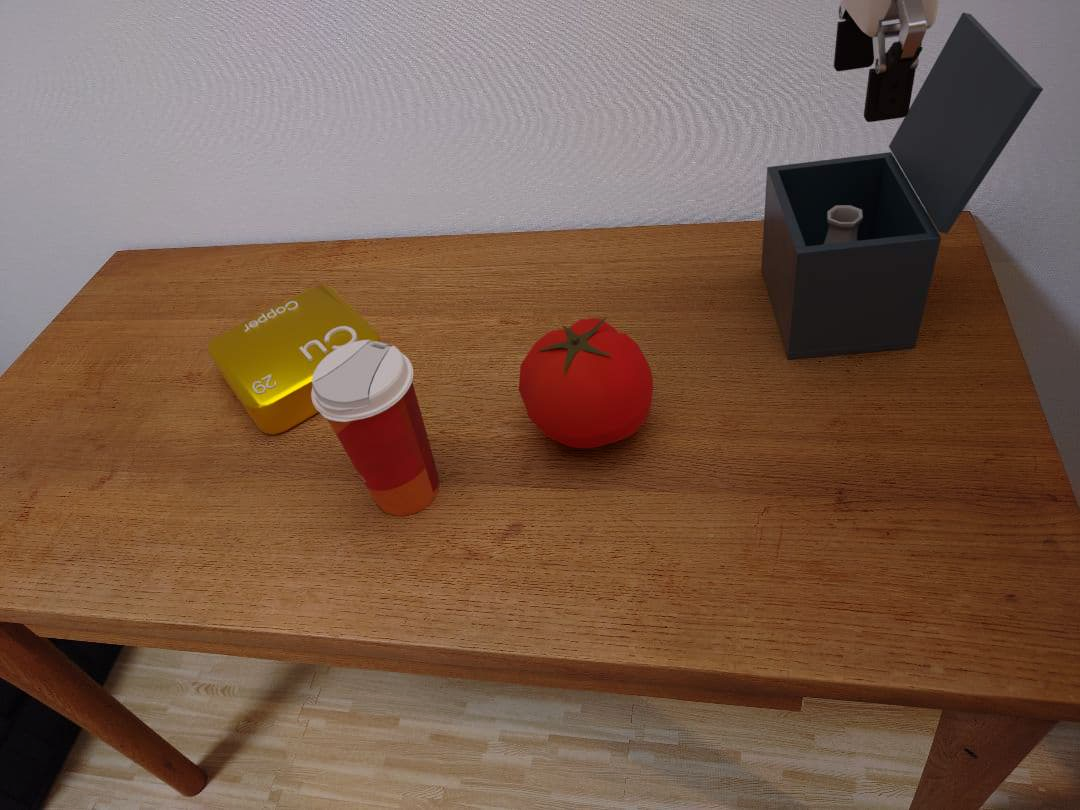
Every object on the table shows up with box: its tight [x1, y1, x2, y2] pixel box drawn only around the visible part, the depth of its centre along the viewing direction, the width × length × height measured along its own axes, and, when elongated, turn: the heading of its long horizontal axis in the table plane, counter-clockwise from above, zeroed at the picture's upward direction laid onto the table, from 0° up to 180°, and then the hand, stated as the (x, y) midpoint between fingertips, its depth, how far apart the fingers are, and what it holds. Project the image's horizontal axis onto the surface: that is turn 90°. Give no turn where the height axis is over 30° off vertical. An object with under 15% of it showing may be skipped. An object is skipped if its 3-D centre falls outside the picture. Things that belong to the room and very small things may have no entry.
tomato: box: [518, 315, 654, 450], centre depth 71 cm, size 12×12×11 cm
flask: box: [824, 205, 863, 244], centre depth 78 cm, size 7×7×10 cm
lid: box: [888, 12, 1044, 234], centre depth 68 cm, size 13×15×1 cm
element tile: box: [207, 284, 382, 436], centre depth 85 cm, size 15×15×5 cm
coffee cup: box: [311, 340, 440, 517], centre depth 68 cm, size 8×8×15 cm
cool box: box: [760, 151, 942, 360], centre depth 77 cm, size 12×15×12 cm
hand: (868, 91), depth 66 cm, fingers open, 9 cm apart
